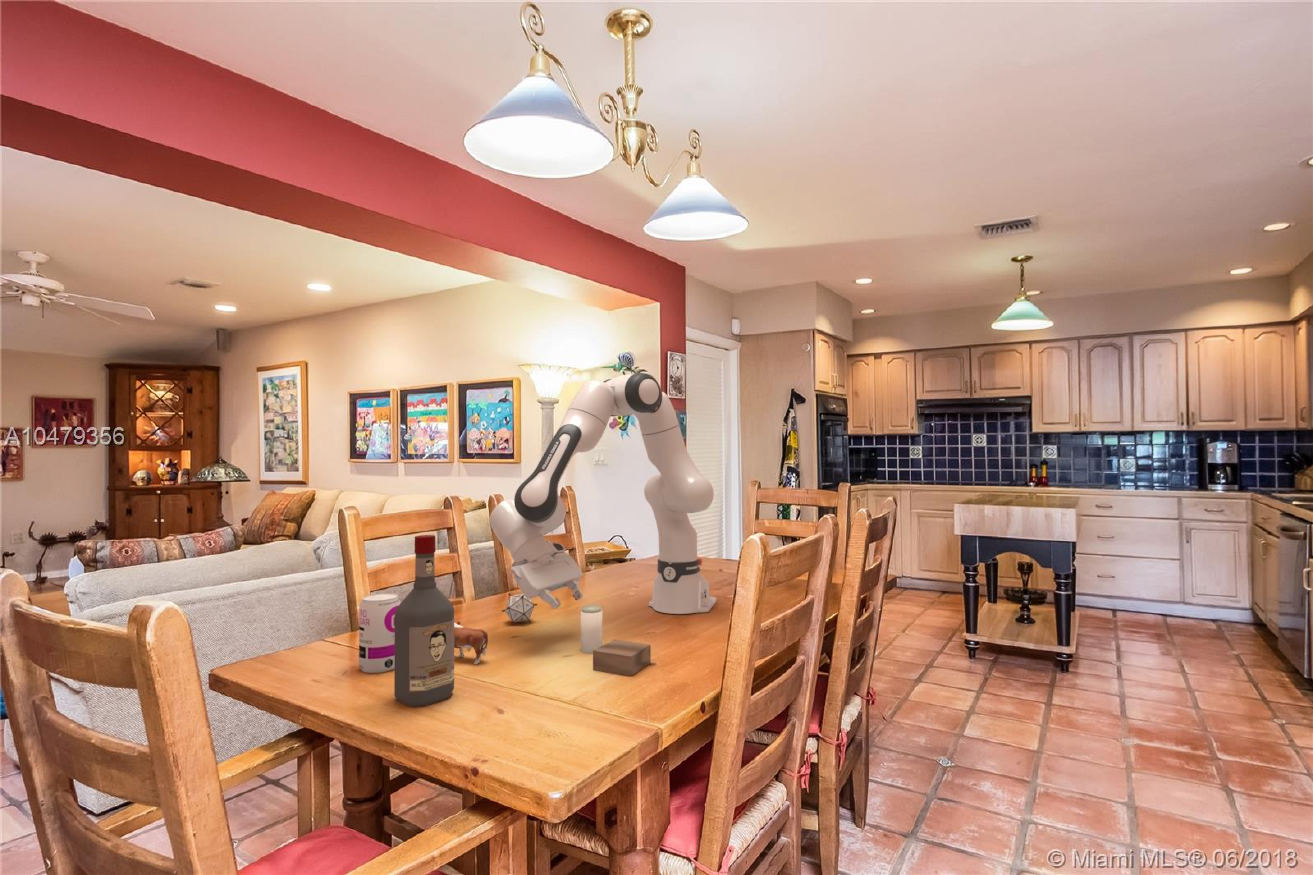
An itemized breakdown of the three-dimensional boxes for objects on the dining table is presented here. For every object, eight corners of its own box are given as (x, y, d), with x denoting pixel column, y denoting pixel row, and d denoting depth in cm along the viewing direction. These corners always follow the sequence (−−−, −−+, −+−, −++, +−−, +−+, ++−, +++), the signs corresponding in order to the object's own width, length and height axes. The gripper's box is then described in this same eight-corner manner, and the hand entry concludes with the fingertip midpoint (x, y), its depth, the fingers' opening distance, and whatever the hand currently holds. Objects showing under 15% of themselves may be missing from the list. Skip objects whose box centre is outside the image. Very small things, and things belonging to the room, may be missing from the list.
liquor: (389, 697, 123) (389, 536, 123) (433, 684, 130) (434, 532, 130) (414, 710, 117) (415, 541, 117) (459, 695, 124) (460, 535, 124)
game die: (524, 638, 174) (531, 612, 169) (494, 626, 175) (501, 600, 169) (536, 614, 182) (544, 589, 177) (508, 603, 182) (514, 577, 177)
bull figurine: (449, 652, 151) (449, 616, 151) (492, 661, 144) (492, 624, 144) (434, 657, 147) (434, 620, 147) (477, 667, 140) (477, 628, 140)
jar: (588, 645, 155) (588, 603, 155) (606, 648, 153) (606, 606, 153) (576, 651, 150) (576, 608, 151) (595, 654, 148) (595, 610, 148)
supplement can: (408, 663, 143) (408, 593, 143) (383, 675, 135) (383, 602, 135) (376, 660, 145) (377, 591, 145) (349, 672, 137) (350, 600, 137)
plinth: (614, 657, 146) (614, 639, 146) (650, 663, 142) (650, 644, 142) (592, 669, 138) (592, 650, 138) (630, 676, 134) (630, 656, 134)
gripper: (515, 555, 149) (550, 603, 144) (566, 543, 167) (599, 585, 163) (499, 573, 151) (534, 621, 146) (552, 559, 169) (584, 602, 164)
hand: (569, 602), depth 154 cm, fingers open, 8 cm apart
